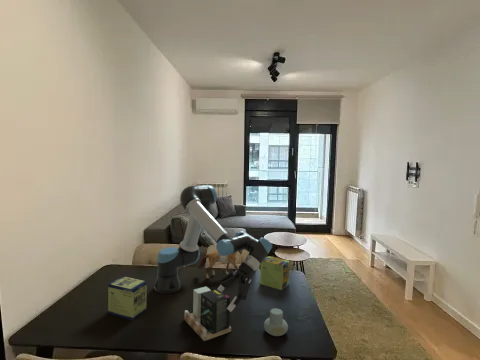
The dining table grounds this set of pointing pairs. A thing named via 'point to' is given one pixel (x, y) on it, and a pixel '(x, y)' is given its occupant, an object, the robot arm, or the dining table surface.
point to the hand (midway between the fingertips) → (221, 303)
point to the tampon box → (215, 311)
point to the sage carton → (198, 300)
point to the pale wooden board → (202, 327)
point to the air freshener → (276, 323)
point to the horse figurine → (217, 257)
